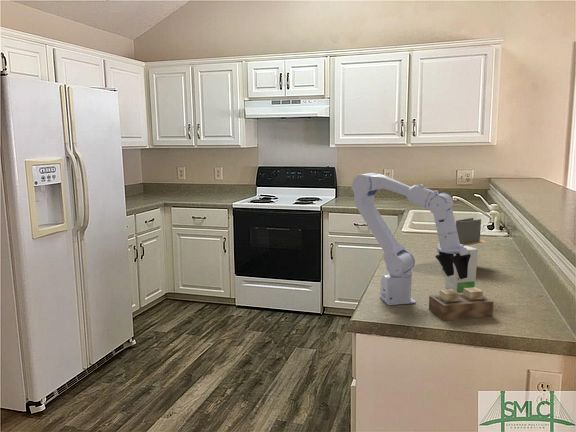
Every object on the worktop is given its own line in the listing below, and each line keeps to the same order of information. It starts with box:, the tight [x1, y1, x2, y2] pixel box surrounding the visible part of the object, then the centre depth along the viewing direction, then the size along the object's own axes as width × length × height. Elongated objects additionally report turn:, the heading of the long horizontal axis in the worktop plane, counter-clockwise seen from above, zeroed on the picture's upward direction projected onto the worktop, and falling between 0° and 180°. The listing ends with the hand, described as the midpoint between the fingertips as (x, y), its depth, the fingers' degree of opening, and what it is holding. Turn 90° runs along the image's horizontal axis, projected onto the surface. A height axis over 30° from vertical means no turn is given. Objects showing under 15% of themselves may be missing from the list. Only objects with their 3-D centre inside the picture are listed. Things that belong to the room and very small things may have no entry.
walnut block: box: [428, 293, 494, 321], centre depth 146 cm, size 16×9×5 cm, turn 101°
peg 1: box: [438, 289, 459, 302], centre depth 145 cm, size 4×4×4 cm
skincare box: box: [444, 246, 479, 293], centre depth 164 cm, size 8×7×16 cm
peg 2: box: [463, 286, 484, 300], centre depth 146 cm, size 4×4×4 cm
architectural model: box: [436, 217, 487, 271], centre depth 193 cm, size 38×25×20 cm, turn 122°
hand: (456, 276), depth 145 cm, fingers open, 7 cm apart
